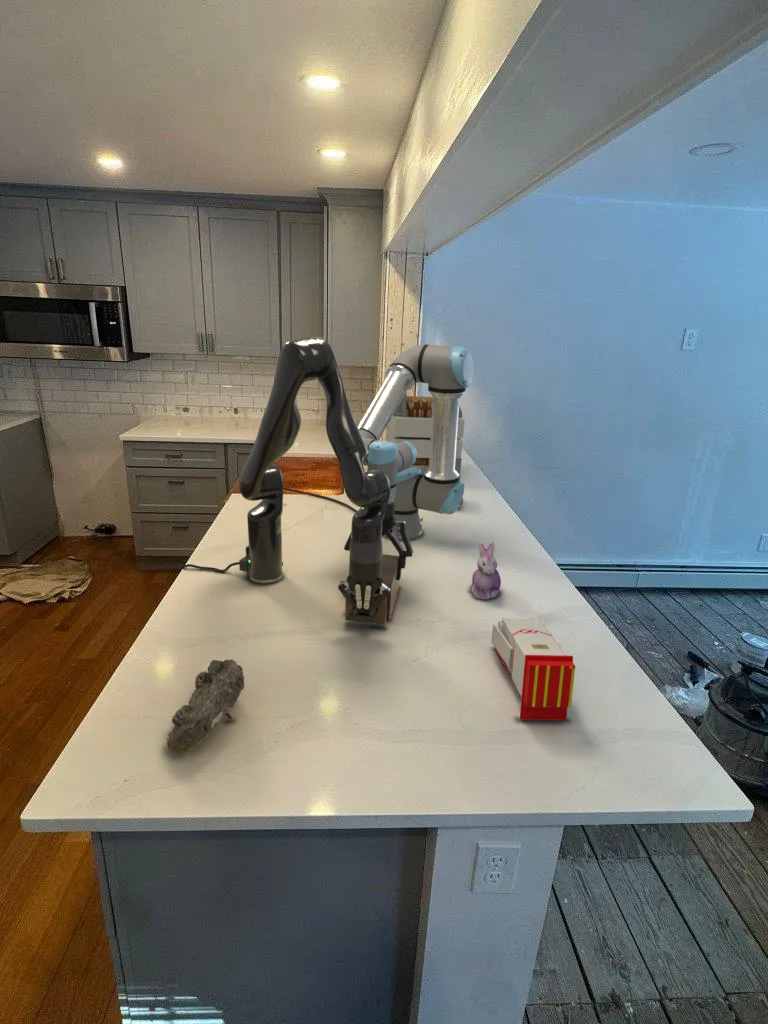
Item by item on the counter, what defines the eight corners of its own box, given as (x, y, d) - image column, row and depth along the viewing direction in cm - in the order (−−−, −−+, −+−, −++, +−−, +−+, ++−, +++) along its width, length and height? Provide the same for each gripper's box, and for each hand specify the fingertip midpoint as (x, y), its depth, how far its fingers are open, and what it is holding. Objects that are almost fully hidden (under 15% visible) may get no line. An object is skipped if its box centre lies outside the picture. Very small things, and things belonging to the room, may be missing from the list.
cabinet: (389, 620, 144) (391, 586, 141) (346, 615, 146) (347, 581, 143) (398, 587, 162) (400, 556, 158) (359, 583, 163) (360, 552, 160)
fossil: (192, 660, 117) (244, 628, 112) (224, 691, 120) (276, 661, 115) (142, 746, 98) (202, 712, 93) (182, 779, 101) (242, 748, 96)
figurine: (482, 603, 154) (488, 553, 149) (461, 587, 163) (466, 539, 158) (510, 597, 158) (516, 547, 153) (487, 581, 167) (493, 534, 162)
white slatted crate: (382, 463, 289) (386, 382, 275) (445, 464, 293) (451, 384, 279) (390, 482, 257) (394, 392, 243) (460, 483, 261) (468, 394, 247)
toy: (537, 603, 136) (584, 662, 106) (532, 655, 138) (577, 726, 109) (487, 602, 135) (520, 661, 106) (483, 654, 138) (514, 725, 109)
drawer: (381, 637, 135) (382, 608, 132) (340, 632, 136) (340, 603, 134) (394, 592, 156) (395, 567, 154) (358, 588, 158) (359, 563, 155)
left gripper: (334, 559, 128) (332, 625, 135) (391, 565, 127) (387, 631, 133) (341, 545, 135) (339, 609, 142) (396, 551, 134) (392, 615, 140)
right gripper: (333, 501, 147) (332, 577, 154) (424, 509, 144) (418, 586, 151) (339, 492, 154) (338, 565, 161) (426, 500, 151) (421, 574, 158)
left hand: (363, 620), depth 137 cm, fingers closed
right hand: (377, 575), depth 156 cm, fingers closed on cabinet, 11 cm apart
